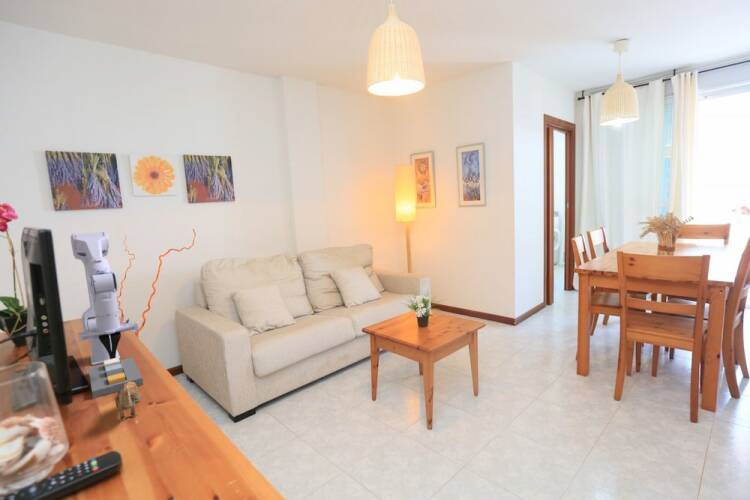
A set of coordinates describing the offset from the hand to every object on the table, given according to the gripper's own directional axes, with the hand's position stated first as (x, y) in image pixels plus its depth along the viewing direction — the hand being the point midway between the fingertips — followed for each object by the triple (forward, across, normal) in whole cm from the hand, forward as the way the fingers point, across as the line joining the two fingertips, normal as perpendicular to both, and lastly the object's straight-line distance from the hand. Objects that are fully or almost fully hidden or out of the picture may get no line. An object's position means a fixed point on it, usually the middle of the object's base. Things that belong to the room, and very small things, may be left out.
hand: (112, 357), depth 116 cm
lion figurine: (+7, +1, -26) cm, 27 cm away
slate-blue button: (+6, 0, +1) cm, 6 cm away
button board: (+7, 0, +1) cm, 7 cm away
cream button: (+6, 0, +8) cm, 10 cm away
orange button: (+7, 0, -5) cm, 8 cm away
